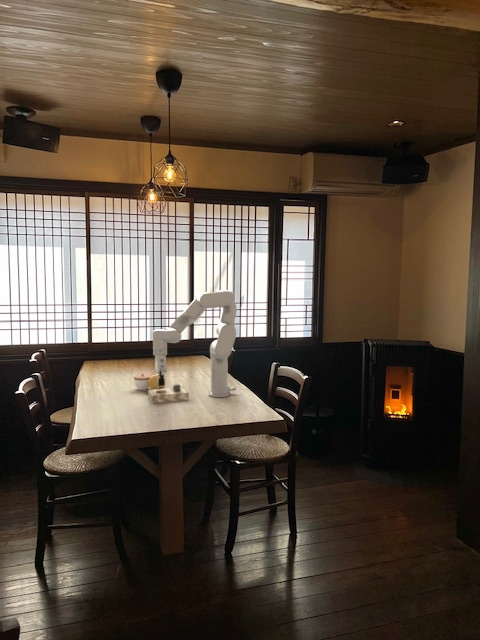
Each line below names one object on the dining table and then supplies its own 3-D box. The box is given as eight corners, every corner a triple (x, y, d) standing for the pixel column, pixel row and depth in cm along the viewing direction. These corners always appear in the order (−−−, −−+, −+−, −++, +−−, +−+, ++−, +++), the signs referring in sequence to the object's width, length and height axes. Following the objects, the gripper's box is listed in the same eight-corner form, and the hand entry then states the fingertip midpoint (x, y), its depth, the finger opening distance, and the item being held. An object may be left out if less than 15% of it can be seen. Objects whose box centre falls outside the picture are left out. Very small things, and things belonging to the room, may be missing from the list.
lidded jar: (130, 390, 280) (130, 375, 279) (138, 386, 290) (138, 371, 289) (147, 391, 277) (147, 376, 276) (155, 387, 288) (154, 372, 287)
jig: (183, 393, 272) (182, 381, 271) (188, 399, 260) (188, 387, 259) (148, 397, 265) (148, 384, 265) (152, 403, 253) (151, 390, 253)
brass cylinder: (163, 386, 263) (163, 372, 262) (165, 388, 260) (164, 374, 259) (156, 387, 262) (156, 373, 261) (157, 389, 258) (157, 374, 257)
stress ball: (146, 393, 277) (152, 385, 270) (145, 378, 282) (150, 370, 275) (163, 394, 281) (168, 386, 274) (161, 379, 287) (167, 371, 280)
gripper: (170, 354, 252) (170, 387, 254) (163, 349, 268) (164, 380, 270) (155, 355, 249) (156, 388, 251) (150, 349, 265) (151, 381, 267)
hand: (160, 384), depth 260 cm, fingers closed on brass cylinder, 4 cm apart
